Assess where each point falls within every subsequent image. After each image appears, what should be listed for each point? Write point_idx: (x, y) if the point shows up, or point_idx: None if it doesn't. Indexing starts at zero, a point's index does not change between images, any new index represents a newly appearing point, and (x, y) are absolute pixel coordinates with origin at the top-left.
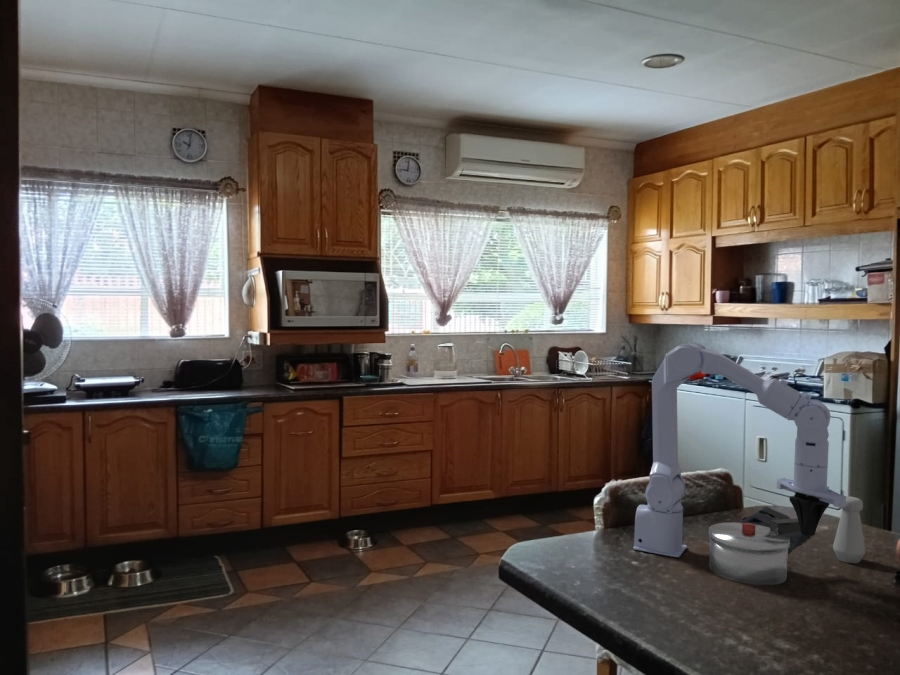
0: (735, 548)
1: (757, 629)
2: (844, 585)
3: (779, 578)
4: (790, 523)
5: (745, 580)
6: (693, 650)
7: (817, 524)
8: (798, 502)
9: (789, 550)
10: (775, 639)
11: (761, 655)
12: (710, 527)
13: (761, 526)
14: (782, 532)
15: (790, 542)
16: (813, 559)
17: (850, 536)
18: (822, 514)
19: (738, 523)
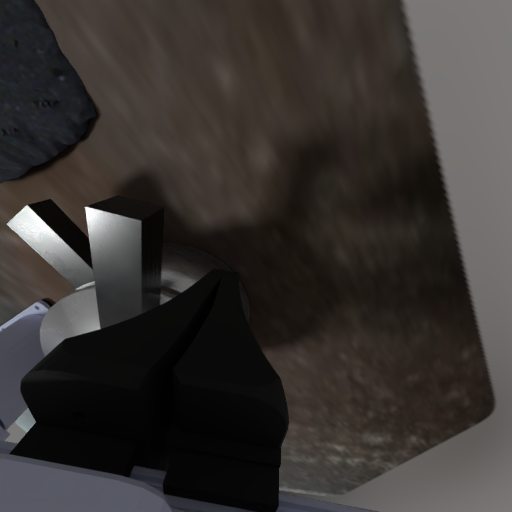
0: None
1: (336, 431)
2: (324, 200)
3: (248, 314)
4: (143, 299)
5: None
6: (326, 481)
7: (239, 296)
8: (167, 467)
9: (74, 80)
10: (363, 436)
11: (372, 461)
12: None
13: (84, 299)
14: (159, 305)
15: (6, 3)
16: (153, 73)
17: None
18: (250, 329)
19: (50, 328)
